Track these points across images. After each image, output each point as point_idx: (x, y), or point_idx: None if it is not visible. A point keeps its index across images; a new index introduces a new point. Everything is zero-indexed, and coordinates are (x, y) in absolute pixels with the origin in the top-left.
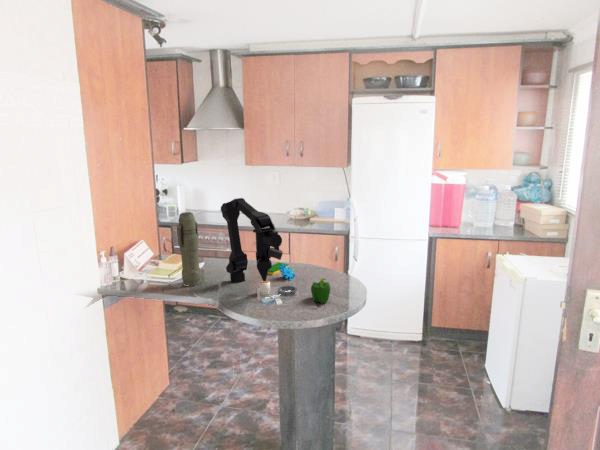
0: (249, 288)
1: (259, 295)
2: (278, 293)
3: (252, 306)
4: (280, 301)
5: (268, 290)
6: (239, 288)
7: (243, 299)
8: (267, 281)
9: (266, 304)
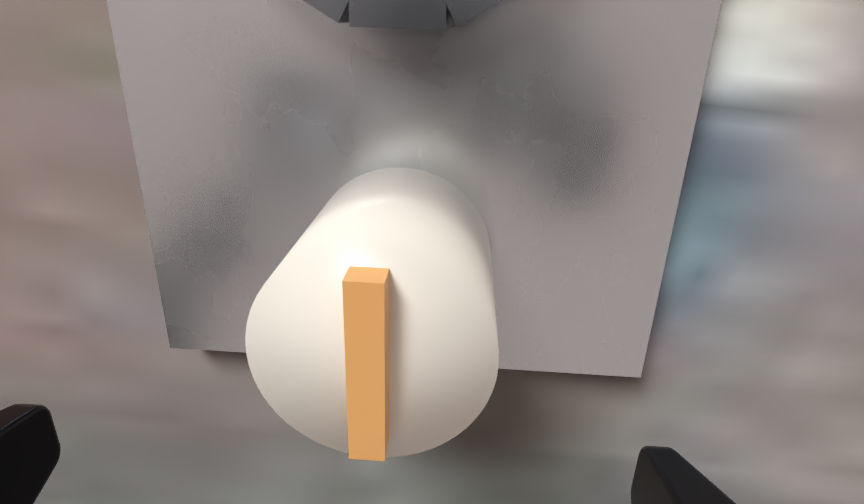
0: (100, 402)
1: None
2: (473, 21)
3: (740, 422)
4: (732, 15)
5: (474, 229)
6: (101, 498)
7: (470, 489)
8: (384, 312)
9: (756, 252)
